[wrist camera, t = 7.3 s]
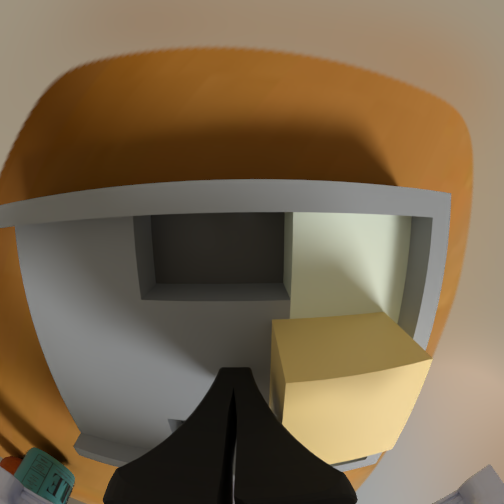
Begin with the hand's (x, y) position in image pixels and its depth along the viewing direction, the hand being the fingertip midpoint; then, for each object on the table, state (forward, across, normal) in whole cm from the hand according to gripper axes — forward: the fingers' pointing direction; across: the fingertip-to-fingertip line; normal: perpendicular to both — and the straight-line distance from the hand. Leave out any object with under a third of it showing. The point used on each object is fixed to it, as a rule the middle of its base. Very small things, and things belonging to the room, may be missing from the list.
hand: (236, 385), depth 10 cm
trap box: (+3, +1, 0) cm, 4 cm away
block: (+1, -4, 0) cm, 4 cm away
